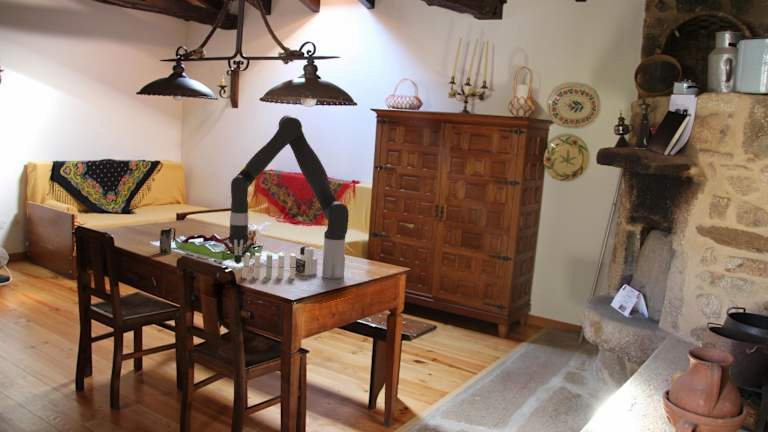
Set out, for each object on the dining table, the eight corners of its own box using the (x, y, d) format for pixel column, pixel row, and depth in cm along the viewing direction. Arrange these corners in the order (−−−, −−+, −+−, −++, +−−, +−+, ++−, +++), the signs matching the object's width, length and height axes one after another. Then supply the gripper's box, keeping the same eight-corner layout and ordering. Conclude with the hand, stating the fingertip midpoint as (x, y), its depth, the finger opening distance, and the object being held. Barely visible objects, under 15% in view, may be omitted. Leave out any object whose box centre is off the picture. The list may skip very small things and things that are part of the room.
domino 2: (258, 275, 276) (259, 253, 275) (259, 278, 271) (260, 255, 270) (254, 275, 276) (255, 252, 274) (254, 278, 271) (255, 255, 270)
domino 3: (270, 275, 277) (271, 253, 276) (271, 278, 273) (272, 255, 271) (265, 275, 277) (266, 253, 276) (266, 278, 272) (267, 255, 271)
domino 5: (293, 276, 280) (294, 253, 279) (295, 278, 275) (296, 256, 274) (289, 276, 279) (290, 253, 278) (290, 278, 275) (291, 255, 273)
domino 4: (282, 276, 279) (283, 253, 277) (283, 278, 274) (284, 255, 273) (277, 275, 278) (278, 253, 277) (278, 278, 273) (279, 255, 272)
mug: (164, 254, 305) (164, 229, 303) (156, 253, 308) (157, 228, 306) (177, 252, 312) (178, 228, 310) (170, 251, 314) (171, 226, 313)
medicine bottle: (294, 272, 287) (296, 246, 285) (307, 270, 292) (308, 245, 290) (304, 275, 282) (305, 249, 280) (317, 274, 287) (318, 247, 285)
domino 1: (247, 275, 275) (249, 252, 274) (247, 278, 270) (250, 255, 269) (242, 275, 274) (244, 252, 273) (242, 278, 270) (245, 254, 268)
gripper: (222, 224, 263) (221, 265, 266) (255, 224, 267) (254, 265, 269) (222, 221, 270) (221, 261, 273) (254, 222, 274) (253, 261, 276)
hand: (237, 263), depth 271 cm, fingers closed
